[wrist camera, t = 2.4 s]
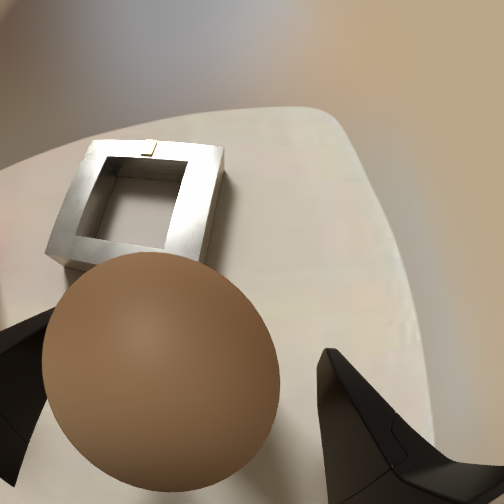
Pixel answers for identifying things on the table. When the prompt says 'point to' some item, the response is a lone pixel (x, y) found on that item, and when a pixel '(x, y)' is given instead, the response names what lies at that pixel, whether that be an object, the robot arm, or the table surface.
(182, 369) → the walnut peg
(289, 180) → the table surface
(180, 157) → the grey square socket base
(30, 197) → the table surface
